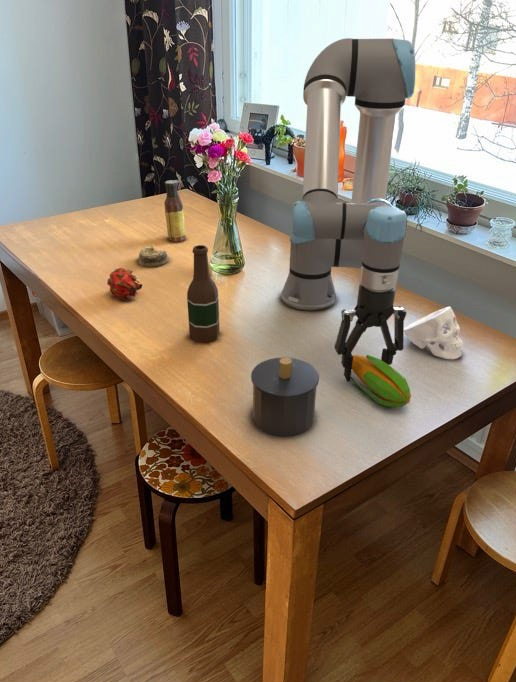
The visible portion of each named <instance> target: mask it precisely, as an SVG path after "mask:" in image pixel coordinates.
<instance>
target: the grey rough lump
mask: <svg viewBox="0 0 516 682" xmlns="http://www.w3.org/2000/svg"><path fill="white" fill-rule="evenodd" d="M169 261H170V257H169V256H168V253H167V250H165V249H160V250H157V249H155V247H154V245H150V246H145V247H143V248H141V250H140V251H139V253H138V265H140V266H142V267H147V268H151V267H159V266H162V265H165V264H166V263H168V262H169Z"/></svg>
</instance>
